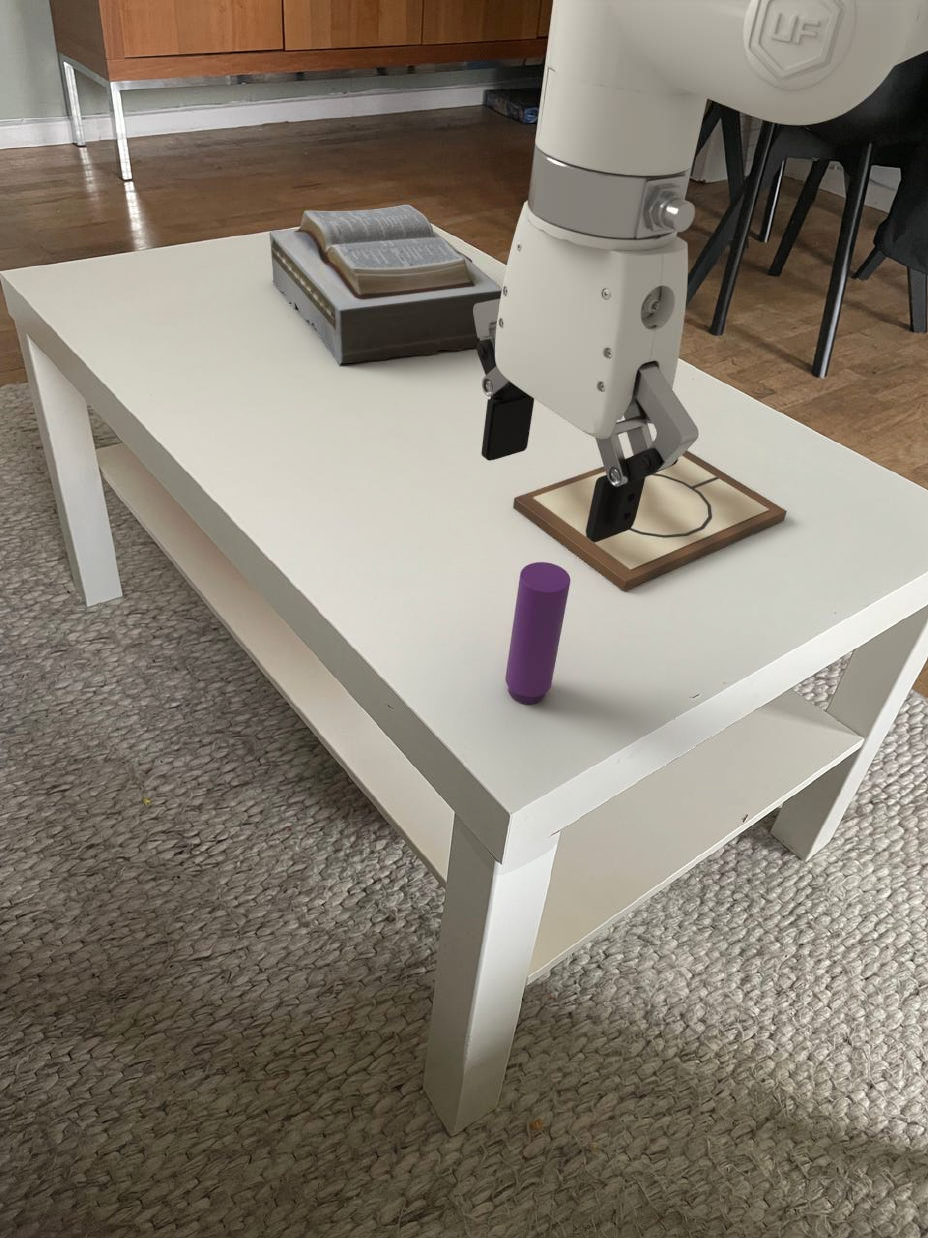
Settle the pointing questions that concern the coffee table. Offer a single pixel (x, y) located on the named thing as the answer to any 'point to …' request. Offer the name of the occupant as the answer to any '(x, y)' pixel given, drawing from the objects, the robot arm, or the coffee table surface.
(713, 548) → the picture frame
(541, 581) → the marker
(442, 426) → the coffee table surface
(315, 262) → the bible
